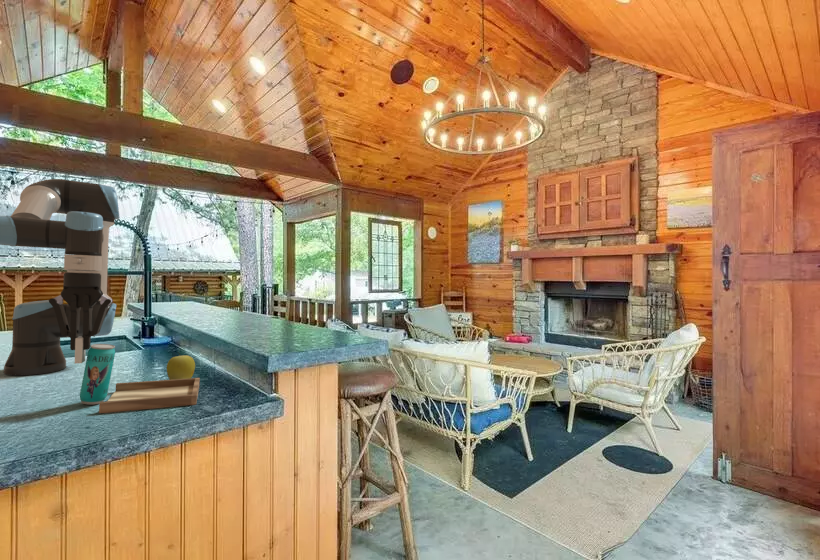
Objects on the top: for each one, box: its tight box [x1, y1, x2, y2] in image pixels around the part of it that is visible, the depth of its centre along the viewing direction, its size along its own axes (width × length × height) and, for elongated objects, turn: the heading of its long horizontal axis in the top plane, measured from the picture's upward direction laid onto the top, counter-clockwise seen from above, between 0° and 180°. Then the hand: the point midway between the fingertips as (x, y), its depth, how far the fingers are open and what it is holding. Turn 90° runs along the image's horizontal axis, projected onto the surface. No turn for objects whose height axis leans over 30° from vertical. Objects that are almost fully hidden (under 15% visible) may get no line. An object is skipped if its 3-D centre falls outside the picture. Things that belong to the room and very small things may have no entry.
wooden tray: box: [98, 377, 201, 414], centre depth 110 cm, size 18×21×2 cm
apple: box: [166, 351, 196, 380], centre depth 127 cm, size 8×8×10 cm
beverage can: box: [79, 343, 116, 406], centre depth 104 cm, size 6×6×15 cm
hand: (79, 362), depth 102 cm, fingers closed
